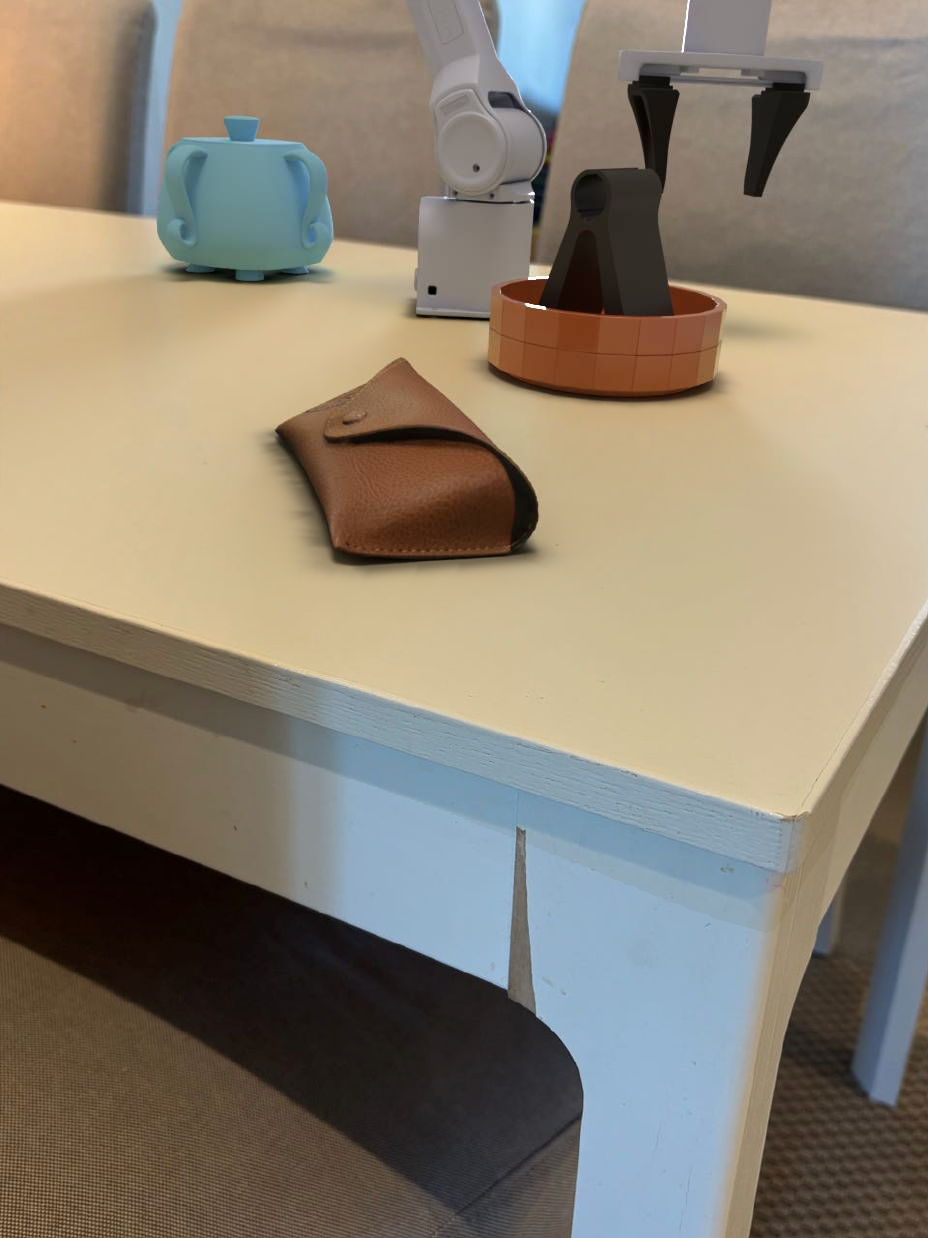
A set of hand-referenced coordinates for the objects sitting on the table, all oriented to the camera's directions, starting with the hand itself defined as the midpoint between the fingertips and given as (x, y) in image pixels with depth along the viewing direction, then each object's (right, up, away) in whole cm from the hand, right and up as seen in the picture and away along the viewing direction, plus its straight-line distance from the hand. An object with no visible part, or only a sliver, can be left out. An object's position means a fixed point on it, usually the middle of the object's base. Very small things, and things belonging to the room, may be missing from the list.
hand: (703, 194), depth 80 cm
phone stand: (-9, -15, -8) cm, 19 cm away
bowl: (-9, -15, -8) cm, 19 cm away
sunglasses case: (-22, -26, -30) cm, 45 cm away
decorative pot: (-39, +2, +24) cm, 46 cm away
